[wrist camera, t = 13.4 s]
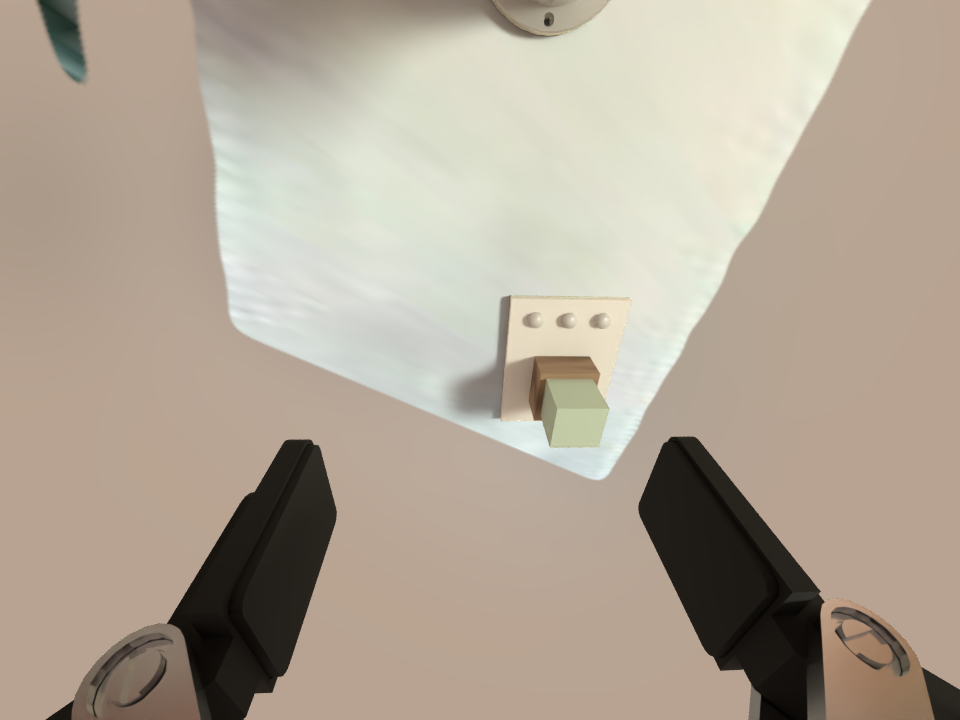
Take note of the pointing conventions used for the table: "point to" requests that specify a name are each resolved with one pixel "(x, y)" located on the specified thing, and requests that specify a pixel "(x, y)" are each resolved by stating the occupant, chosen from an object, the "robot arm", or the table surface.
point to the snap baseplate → (558, 341)
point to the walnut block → (557, 375)
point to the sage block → (573, 413)
